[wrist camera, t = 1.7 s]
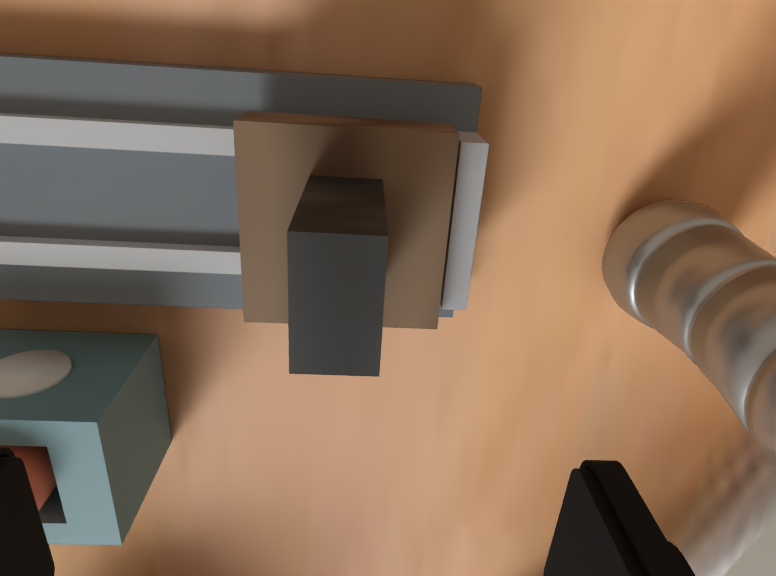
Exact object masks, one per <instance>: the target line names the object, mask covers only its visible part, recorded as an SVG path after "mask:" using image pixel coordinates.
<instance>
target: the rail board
mask: <svg viewBox="0 0 776 576" xmlns="http://www.w3.org/2000/svg"><path fill="white" fill-rule="evenodd" d="M481 92H482V87H480V86H477V85H475V84H466V83H451V82H435V81H420V80H405V79H389V78H374V77H359V76H344V75H328V74H313V73H298V72H282V71H267V70H252V69H236V68H221V67H206V66H191V65H175V64H160V63H145V62H129V61H114V60H99V59H83V58H68V57H53V56H38V55H22V54H7V53H0V299H2V300H27V301H53V302H78V303H103V304H128V305H154V306H179V307H204V308H229V309H243V294H242V276H241V258H240V240H239V222H238V204H237V186H236V167H235V149H234V131H233V120H234V119H236V118H237V117H239V116H241V115H242V114H244V113H245V112H247V111H262V112H279V113H295V114H311V115H328V116H344V117H361V118H377V119H394V120H410V121H426V122H443V123H450V124H451V125H452V126H453V127H454V128H455V129H456V130H457V132H458V133H459V134H460V136H459V145H458V154H457V162H456V171H455V179H454V188H453V197H452V205H451V214H450V222H449V231H448V240H447V248H446V257H445V265H444V274H443V282H442V291H441V300H440V308H439V317H453V310H466V306H467V299H468V292H469V285H470V278H471V270H472V263H473V256H474V249H475V242H476V235H477V227H478V220H479V213H480V206H481V199H482V192H483V185H484V177H485V170H486V163H487V156H488V149H489V143H488V142H487V141H486V140H484V139H483V138H482V137H481V136H480V135H479V134H478V133H477V132H476V131H477V123H478V115H479V108H480V100H481Z"/></svg>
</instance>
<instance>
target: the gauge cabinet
mask: <svg viewBox="0 0 776 576" xmlns="http://www.w3.org/2000/svg"><path fill="white" fill-rule="evenodd" d="M171 442H172V439H171V431H170V424H169V416H168V409H167V401H166V394H165V386H164V379H163V371H162V364H161V356H160V349H159V341H158V335H151V334H123V333H96V332H68V331H41V330H14V329H0V445H5V446H46V447H47V448H48V452H49V456H50V460H51V464H52V468H53V472H54V475H55V479H56V483H57V485H56V487H55V488H54V490H53V491H52V492H51V494H50V495H49V497H48V498H47V500H46V501H45V503H44V504H43V506H42V507H41V508H40V510H39V511H38V512H39V515H40V518H41V522H42V525H43V528H44V532H45V535H46V539H47V542H48V544H72V545H122V544H123V542H124V540H125V538H126V535H127V533H128V531H129V529H130V527H131V525H132V523H133V521H134V519H135V517H136V515H137V513H138V510H139V508H140V506H141V504H142V502H143V500H144V498H145V496H146V494H147V492H148V490H149V487H150V485H151V483H152V481H153V479H154V477H155V475H156V473H157V471H158V469H159V467H160V464H161V462H162V460H163V458H164V456H165V454H166V452H167V450H168V448H169V446H170V444H171Z"/></svg>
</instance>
